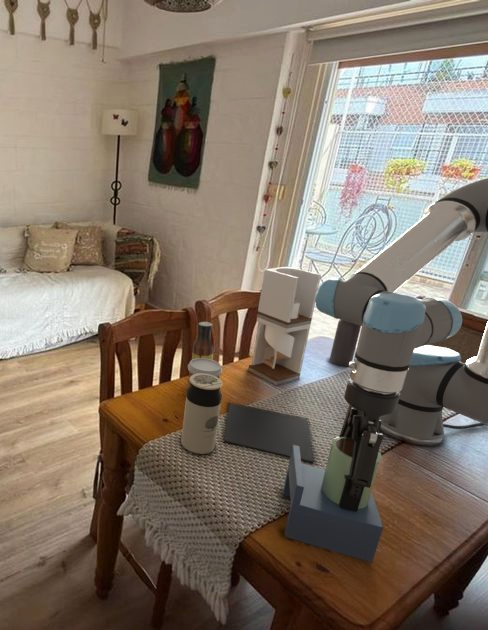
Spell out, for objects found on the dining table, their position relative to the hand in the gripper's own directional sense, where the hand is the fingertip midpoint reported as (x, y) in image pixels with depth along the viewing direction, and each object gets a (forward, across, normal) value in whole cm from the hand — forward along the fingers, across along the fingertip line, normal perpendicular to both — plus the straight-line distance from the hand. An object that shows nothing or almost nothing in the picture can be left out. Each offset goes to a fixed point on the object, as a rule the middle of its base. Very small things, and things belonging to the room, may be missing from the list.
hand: (344, 492), depth 82 cm
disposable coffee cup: (+8, -38, -30) cm, 49 cm away
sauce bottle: (+8, -50, -32) cm, 60 cm away
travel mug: (+8, -16, -28) cm, 33 cm away
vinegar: (+9, -86, +12) cm, 87 cm away
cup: (0, 0, 0) cm, 0 cm away
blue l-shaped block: (+8, 0, -2) cm, 9 cm away
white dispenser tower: (+8, -66, -10) cm, 67 cm away
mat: (+8, -30, -12) cm, 33 cm away
